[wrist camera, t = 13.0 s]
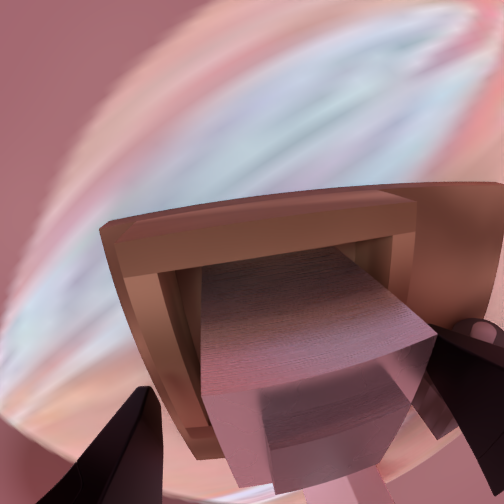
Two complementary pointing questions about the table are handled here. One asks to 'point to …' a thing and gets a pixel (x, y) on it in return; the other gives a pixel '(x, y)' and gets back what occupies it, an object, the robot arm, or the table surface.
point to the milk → (351, 489)
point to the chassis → (294, 240)
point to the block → (306, 366)
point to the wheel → (481, 330)
